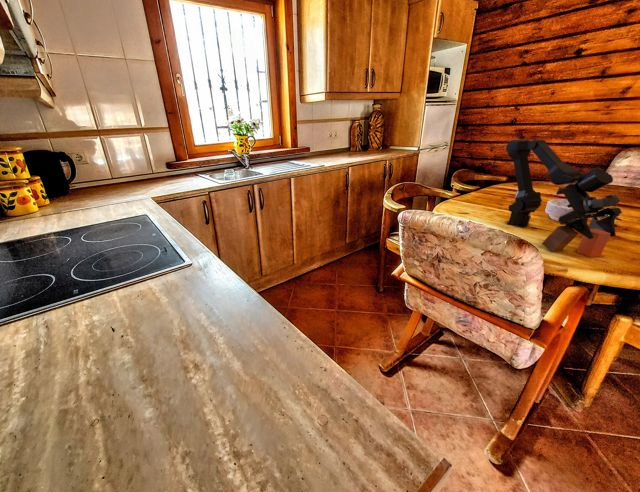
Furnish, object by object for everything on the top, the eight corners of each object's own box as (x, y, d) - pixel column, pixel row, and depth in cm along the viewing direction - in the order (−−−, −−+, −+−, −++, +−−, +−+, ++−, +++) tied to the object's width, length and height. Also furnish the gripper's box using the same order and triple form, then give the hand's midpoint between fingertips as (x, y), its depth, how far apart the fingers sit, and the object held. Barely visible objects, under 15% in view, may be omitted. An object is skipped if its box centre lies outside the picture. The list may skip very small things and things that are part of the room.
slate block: (583, 237, 113) (592, 216, 109) (591, 235, 114) (600, 215, 110) (597, 241, 109) (607, 220, 105) (605, 240, 110) (615, 219, 106)
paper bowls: (551, 224, 126) (557, 207, 123) (537, 213, 139) (542, 197, 136) (594, 227, 121) (602, 210, 118) (575, 215, 134) (582, 199, 131)
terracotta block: (575, 251, 103) (585, 229, 99) (586, 250, 103) (596, 228, 100) (589, 257, 99) (599, 234, 95) (600, 256, 99) (611, 233, 96)
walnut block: (541, 243, 107) (557, 226, 101) (550, 242, 107) (567, 225, 101) (551, 252, 104) (568, 234, 97) (561, 250, 104) (579, 233, 98)
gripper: (578, 189, 94) (604, 230, 88) (626, 184, 96) (655, 225, 90) (548, 205, 104) (570, 243, 98) (592, 200, 106) (616, 238, 100)
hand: (602, 237), depth 96 cm, fingers open, 8 cm apart
